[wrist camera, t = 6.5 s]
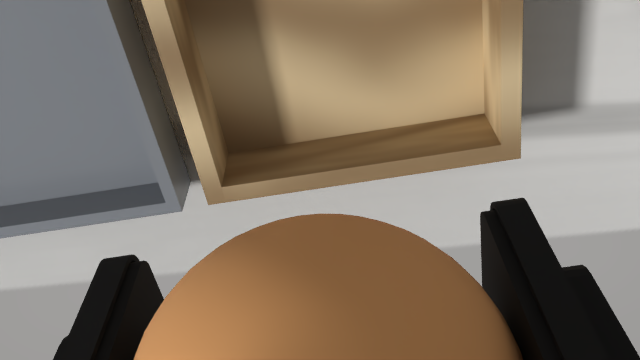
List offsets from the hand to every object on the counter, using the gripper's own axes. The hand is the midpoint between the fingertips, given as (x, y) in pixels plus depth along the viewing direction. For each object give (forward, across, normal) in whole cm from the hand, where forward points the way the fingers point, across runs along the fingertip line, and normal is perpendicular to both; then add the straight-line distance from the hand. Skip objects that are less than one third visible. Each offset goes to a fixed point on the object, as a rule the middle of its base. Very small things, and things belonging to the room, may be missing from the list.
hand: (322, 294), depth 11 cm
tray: (+17, -1, 0) cm, 17 cm away
